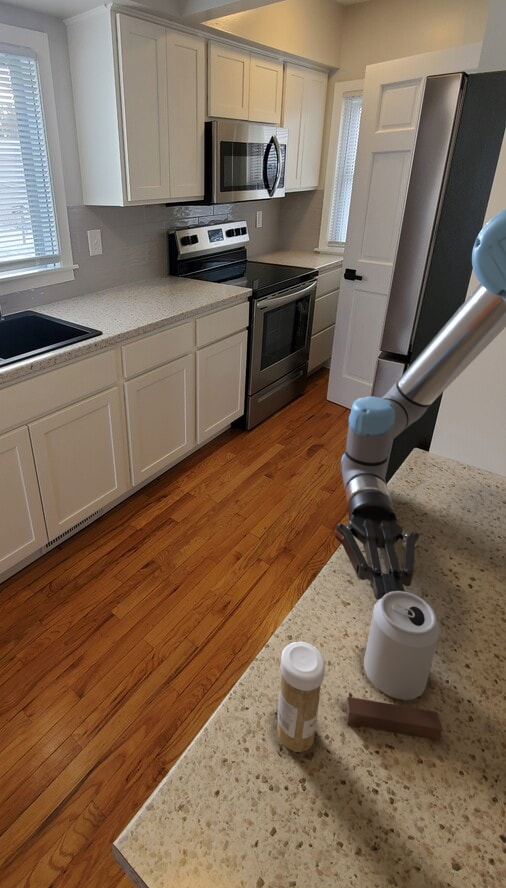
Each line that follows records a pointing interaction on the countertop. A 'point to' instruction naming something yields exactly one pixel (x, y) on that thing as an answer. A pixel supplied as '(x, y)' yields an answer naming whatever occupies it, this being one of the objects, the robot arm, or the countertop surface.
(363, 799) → the countertop surface
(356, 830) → the countertop surface
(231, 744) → the countertop surface
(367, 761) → the countertop surface
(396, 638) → the can
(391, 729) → the bar
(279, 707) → the sprinkles bottle
